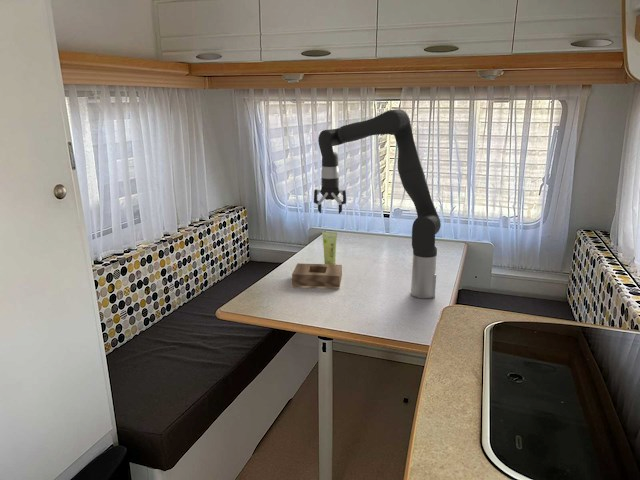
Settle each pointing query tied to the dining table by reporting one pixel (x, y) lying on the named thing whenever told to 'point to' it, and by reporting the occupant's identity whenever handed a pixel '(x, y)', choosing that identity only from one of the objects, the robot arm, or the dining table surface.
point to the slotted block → (317, 276)
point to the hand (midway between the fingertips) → (330, 212)
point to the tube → (329, 247)
